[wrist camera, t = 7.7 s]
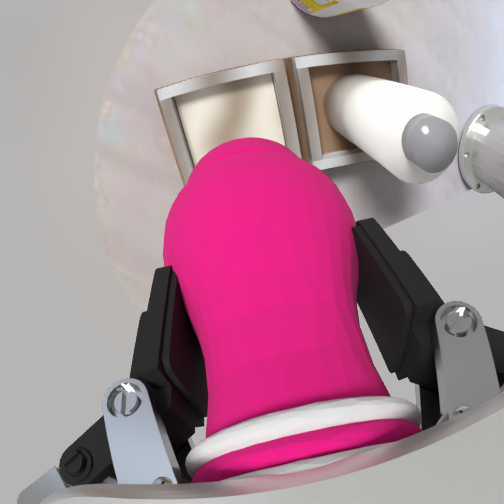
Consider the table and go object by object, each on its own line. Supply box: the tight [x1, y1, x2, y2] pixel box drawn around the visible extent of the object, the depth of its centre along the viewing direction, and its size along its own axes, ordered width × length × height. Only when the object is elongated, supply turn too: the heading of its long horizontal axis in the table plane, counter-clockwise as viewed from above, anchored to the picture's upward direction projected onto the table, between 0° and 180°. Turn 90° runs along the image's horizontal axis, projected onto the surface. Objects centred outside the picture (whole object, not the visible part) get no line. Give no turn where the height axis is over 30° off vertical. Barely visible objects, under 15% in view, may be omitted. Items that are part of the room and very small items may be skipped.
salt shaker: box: [323, 73, 459, 184], centre depth 22 cm, size 7×7×14 cm
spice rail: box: [154, 49, 408, 187], centre depth 28 cm, size 24×11×3 cm, turn 102°
